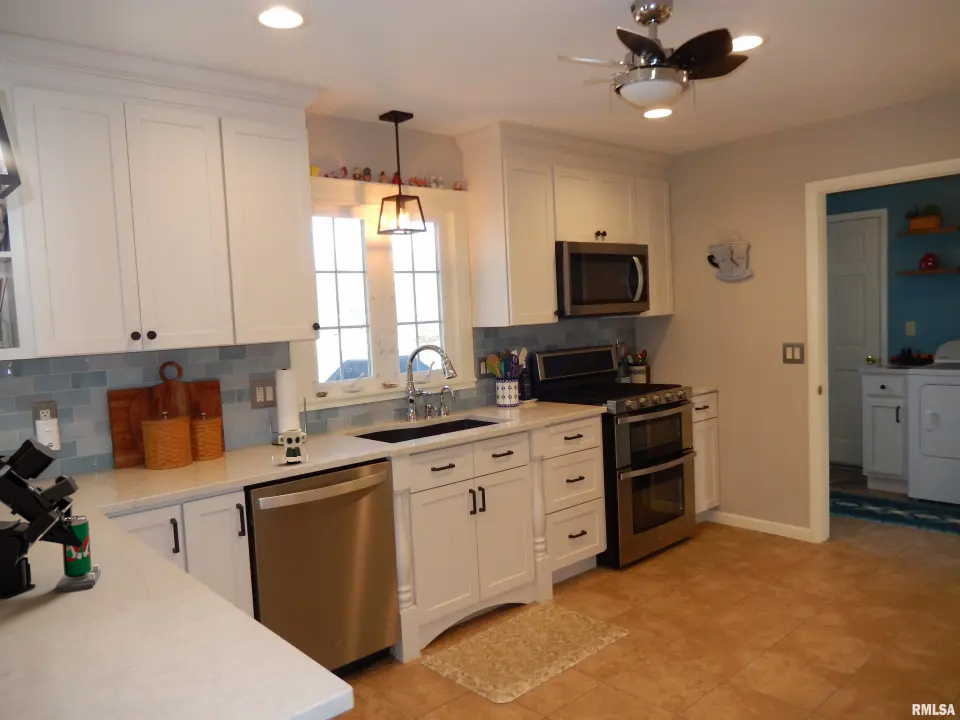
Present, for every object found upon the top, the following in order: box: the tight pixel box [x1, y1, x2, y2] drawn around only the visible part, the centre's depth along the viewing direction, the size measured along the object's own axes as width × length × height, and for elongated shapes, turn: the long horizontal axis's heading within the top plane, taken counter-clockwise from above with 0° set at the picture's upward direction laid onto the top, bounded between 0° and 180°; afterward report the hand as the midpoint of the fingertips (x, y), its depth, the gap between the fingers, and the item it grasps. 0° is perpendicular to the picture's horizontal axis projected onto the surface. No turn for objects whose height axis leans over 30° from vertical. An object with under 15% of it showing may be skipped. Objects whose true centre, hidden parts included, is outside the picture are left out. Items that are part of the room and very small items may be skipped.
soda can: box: [61, 515, 93, 577], centre depth 148 cm, size 5×5×12 cm
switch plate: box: [56, 564, 102, 588], centre depth 148 cm, size 7×7×2 cm
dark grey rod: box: [55, 583, 94, 594], centre depth 144 cm, size 7×1×1 cm, turn 110°
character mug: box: [277, 428, 307, 458], centre depth 276 cm, size 11×7×13 cm, turn 113°
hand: (83, 541), depth 149 cm, fingers closed on soda can, 5 cm apart
